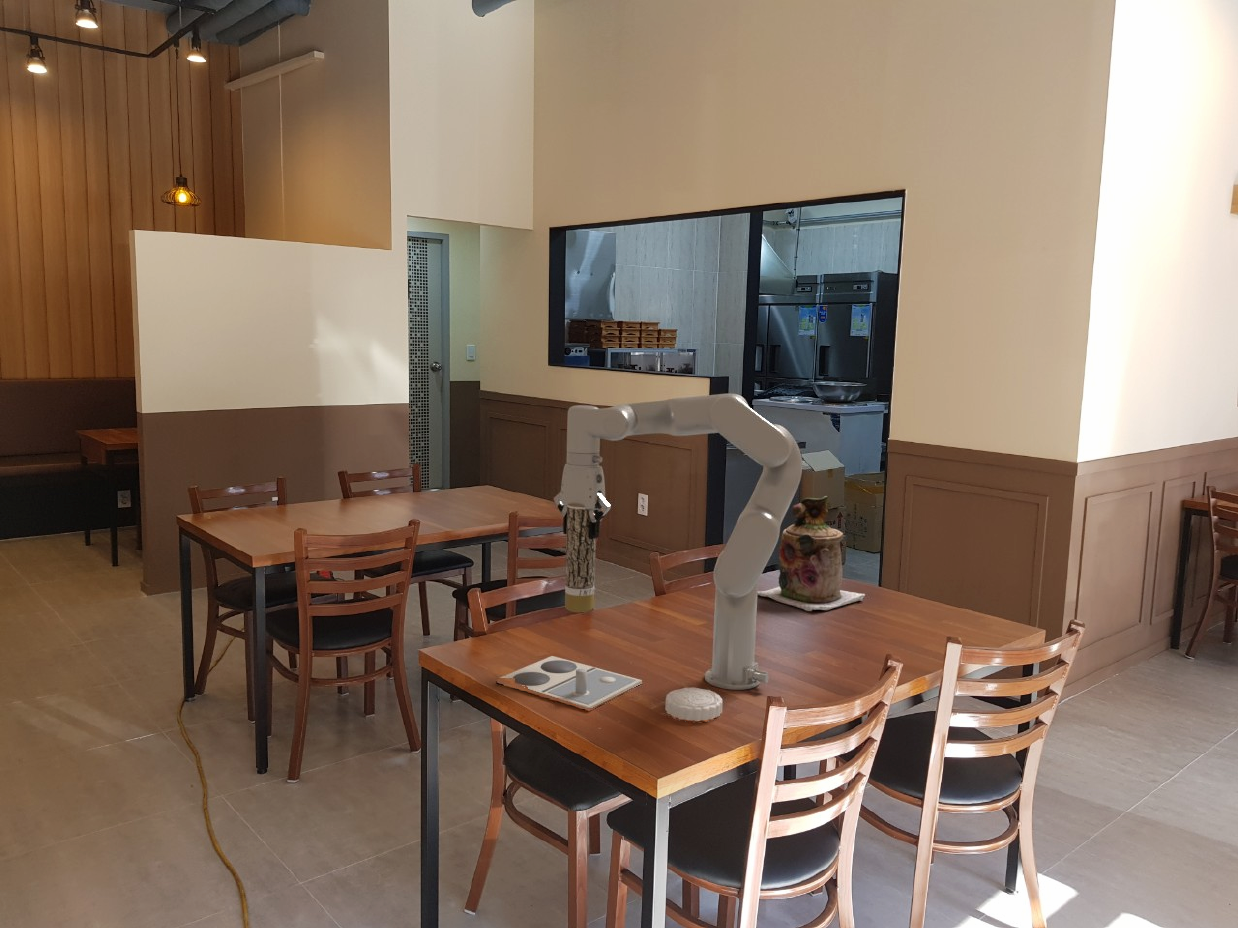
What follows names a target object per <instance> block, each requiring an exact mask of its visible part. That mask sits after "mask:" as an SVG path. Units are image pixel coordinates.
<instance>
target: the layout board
mask: <svg viewBox="0 0 1238 928" xmlns="http://www.w3.org/2000/svg"><path fill="white" fill-rule="evenodd" d="M505 675H506V676H505ZM505 675H503V676H501V677H499V678H515V683H517V684H521V685H522V686H525V685H526V686H527V687H528V689H530V690H533V691H536V692H539V693H542V694H545V695H549V696H552V697H555V698H559V699H561V700H564V701H568V702H571V703H573V704H576V705H579V706H583V707H585V708H593V707H595V706H597V705H599V704H601V703H603V702H605V701H607V700H609V699H611V698H613V697H615V696H617V695H619V694H621V693H623V692H625V691H627V690H629V689H631V688H634V687H636V686H638V685H640V684H642V685H643V680H642V679H639V678H635V677H632V676H628V675H625V674H620V673H617V672H614V671H609V670H605V669H602V668H599V667H596V666H595V667H594V666H592V665H587V664H584V663H580V662H576V661H573V660H569V659H565V658H562V657H558V656H553V655H551V656H548V657H546V658H544V659H541V660H538V661H537V662H534V663H531V664H529V665H526V666H524V667H522V668H519V669H516V670H515V671H513V672H510V673H508V674H505ZM640 686H641V685H640ZM638 687H639V686H638ZM524 688H525V687H524ZM636 688H637V687H636ZM634 689H635V688H634Z"/></svg>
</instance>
